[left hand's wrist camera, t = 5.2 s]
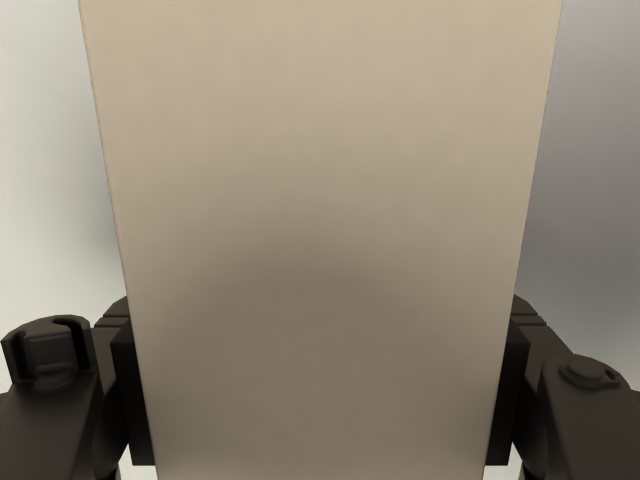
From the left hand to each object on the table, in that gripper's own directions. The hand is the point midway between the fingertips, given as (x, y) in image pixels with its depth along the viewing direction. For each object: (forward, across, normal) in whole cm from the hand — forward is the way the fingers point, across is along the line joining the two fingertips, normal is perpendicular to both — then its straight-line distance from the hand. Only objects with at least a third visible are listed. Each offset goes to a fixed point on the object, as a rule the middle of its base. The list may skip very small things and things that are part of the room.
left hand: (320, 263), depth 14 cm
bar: (+1, 0, -27) cm, 27 cm away
